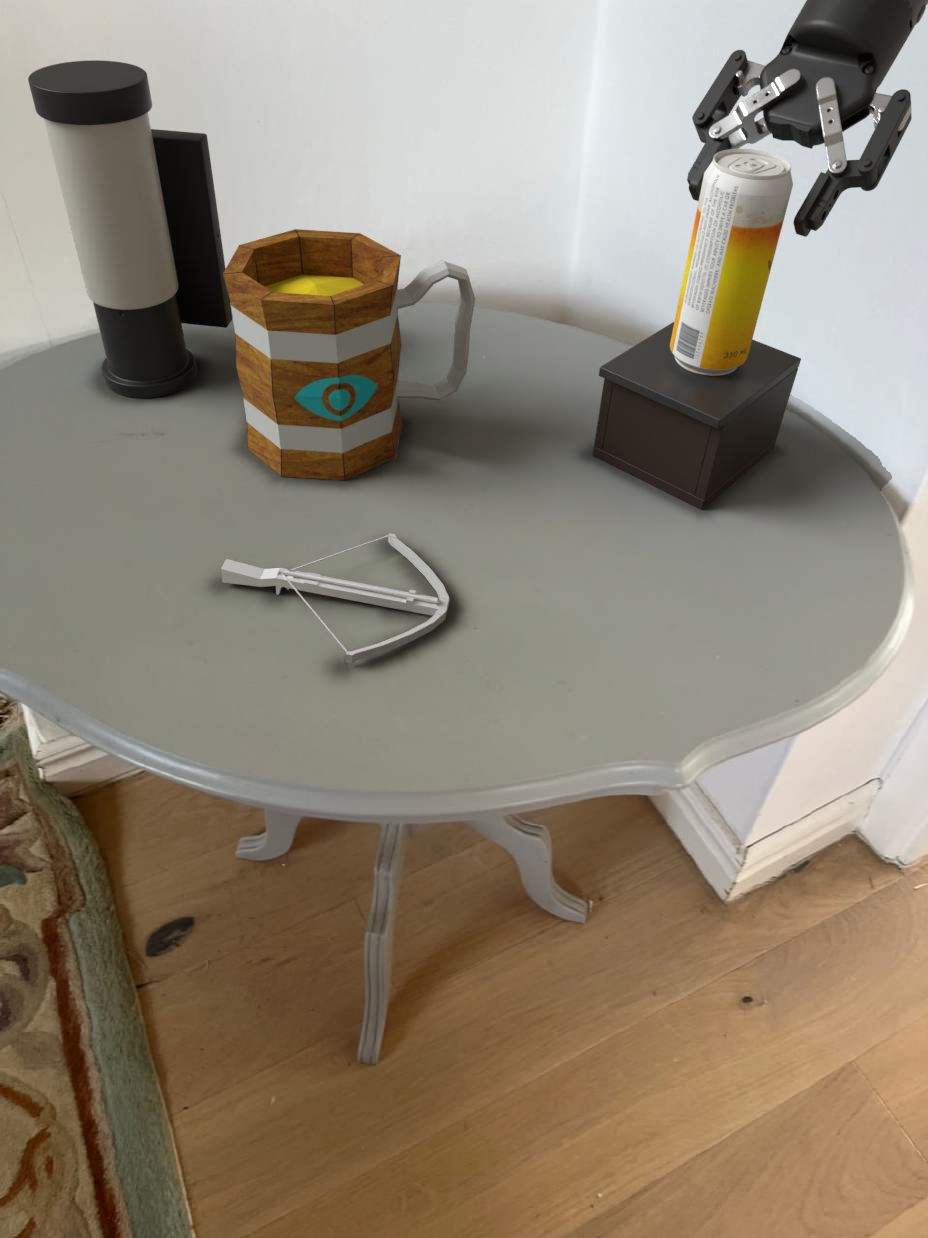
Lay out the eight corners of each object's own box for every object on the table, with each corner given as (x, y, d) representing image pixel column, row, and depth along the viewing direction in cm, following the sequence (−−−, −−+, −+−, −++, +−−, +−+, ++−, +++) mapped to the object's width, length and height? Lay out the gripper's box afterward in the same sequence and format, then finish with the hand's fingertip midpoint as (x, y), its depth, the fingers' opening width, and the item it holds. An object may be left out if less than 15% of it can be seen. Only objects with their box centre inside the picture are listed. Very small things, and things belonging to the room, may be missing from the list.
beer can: (759, 360, 76) (813, 163, 66) (717, 387, 73) (768, 184, 63) (695, 333, 79) (738, 140, 69) (652, 358, 76) (690, 159, 66)
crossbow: (461, 563, 72) (464, 542, 70) (428, 686, 63) (431, 665, 61) (253, 524, 73) (252, 502, 71) (192, 641, 64) (189, 618, 62)
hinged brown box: (701, 509, 76) (723, 424, 71) (592, 455, 81) (604, 371, 76) (773, 449, 83) (798, 367, 78) (667, 402, 88) (684, 322, 82)
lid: (717, 429, 70) (720, 420, 70) (598, 375, 75) (599, 366, 75) (798, 367, 77) (801, 358, 77) (684, 321, 82) (686, 313, 82)
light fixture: (68, 391, 86) (-18, 85, 69) (117, 333, 94) (51, 45, 76) (199, 405, 85) (145, 98, 68) (237, 345, 93) (197, 57, 76)
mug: (261, 494, 76) (237, 315, 65) (233, 406, 85) (208, 237, 74) (494, 455, 81) (506, 284, 70) (444, 376, 90) (449, 214, 80)
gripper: (766, -54, 68) (648, 156, 69) (966, -18, 61) (831, 213, 63) (782, 21, 74) (674, 211, 76) (964, 61, 68) (842, 268, 69)
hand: (745, 212), depth 69 cm, fingers open, 8 cm apart
